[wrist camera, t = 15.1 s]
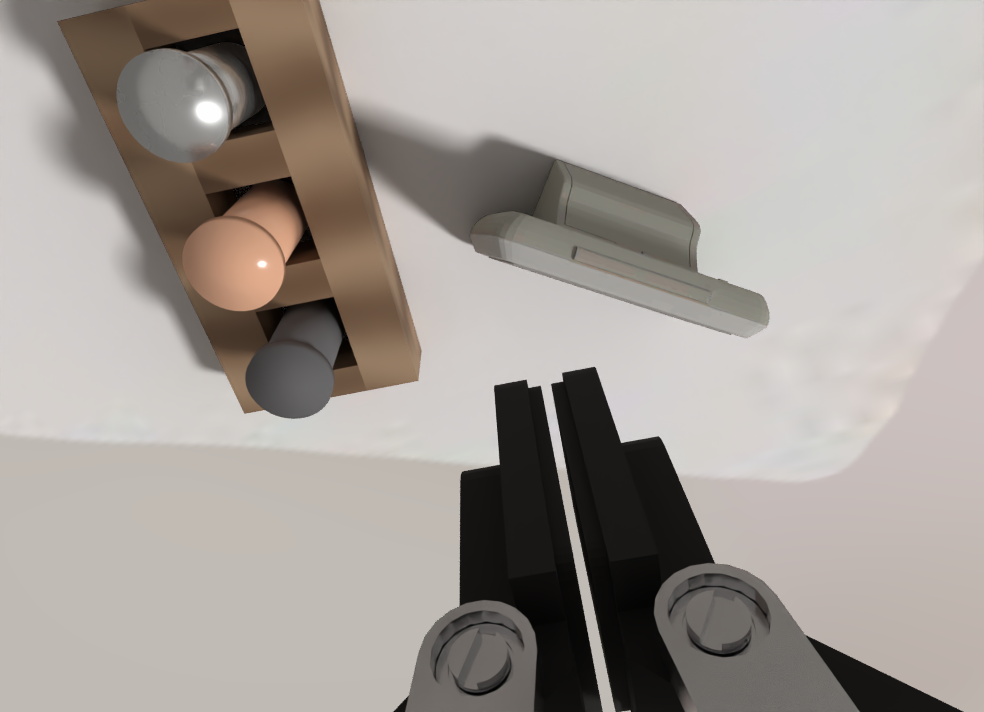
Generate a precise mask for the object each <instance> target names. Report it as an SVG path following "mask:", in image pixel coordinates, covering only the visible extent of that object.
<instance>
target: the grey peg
mask: <svg viewBox="0 0 984 712" xmlns="http://www.w3.org/2000/svg"><path fill="white" fill-rule="evenodd" d="M116 98H117V105H118V109H119V113H120V115H121V118H122V120H123V122H124V124H125V126H126V127H127V129H128V130H129V132H130V133H131V135H132V136H133V137H134V138H135V139H136V140H137V141H138V142H139V143H140V144H141V145H142V146H143V147H144V148H146V149H147V150H148V151H150V152H151V153H153V154H155V155H157V156H159V157H161V158H163V159H166V160H169V161H173V162H180V163H190V162H196V161H199V160H202V159H204V158H207V157H208V156H210V155H211V154H213V153H214V152H216V151H217V150H218V149H219V148H220V147H221V146H222V145H223V144H224V143H225V142H226V140H227V138H228V137H229V134H230V132H231V130H232V129H233V128H235V127H236V126H238V125H239V124H241V123H242V122H244V121H245V120H247V119H248V118H250V117H251V116H253V115H254V114H256V113H257V112H259V111H260V110H261V109H262V108H263V107H264V105H265V101H264V98H263V95H262V93H261V90H260V87H259V84H258V81H257V78H256V76H255V73H254V70H253V67H252V64H251V61H250V59H249V56H248V53H247V50H246V48H245V47H244V46H241V45H239V44H236V43H230V42H223V43H218V44H214V45H210V46H207V47H203V48H199V49H196V50H192V51H188V52H185V51H181V50H178V49H171V48H163V49H156V50H152V51H148V52H145V53H142V54H140V55H138V56H136V57H134V58H133V59H132V60H130V61H129V62H128V63H127V64H126V66H125V67H124V69H123V70H122V72H121V74H120V76H119V79H118V83H117V90H116Z"/></svg>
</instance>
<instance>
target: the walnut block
mask: <svg viewBox="0 0 984 712" xmlns="http://www.w3.org/2000/svg"><path fill="white" fill-rule="evenodd" d="M57 22H58V24H59V26H60V28H61V30H62V32H63V34H64V37H65V39H66V41H67V43H68V45H69V47H70V49H71V51H72V53H73V55H74V57H75V60H76V62H77V64H78V66H79V68H80V70H81V72H82V74H83V76H84V78H85V81H86V83H87V85H88V87H89V89H90V91H91V93H92V95H93V97H94V99H95V101H96V104H97V106H98V108H99V110H100V112H101V114H102V116H103V118H104V120H105V122H106V125H107V127H108V129H109V131H110V133H111V135H112V137H113V139H114V141H115V143H116V145H117V148H118V150H119V152H120V154H121V156H122V158H123V160H124V162H125V164H126V166H127V168H128V171H129V173H130V175H131V177H132V179H133V181H134V183H135V185H136V187H137V189H138V192H139V194H140V196H141V198H142V200H143V202H144V204H145V206H146V208H147V210H148V212H149V215H150V217H151V219H152V221H153V223H154V225H155V227H156V229H157V231H158V233H159V236H160V238H161V240H162V242H163V244H164V246H165V248H166V250H167V252H168V254H169V256H170V259H171V261H172V263H173V265H174V267H175V269H176V271H177V273H178V275H179V277H180V280H181V282H182V284H183V286H184V288H185V290H186V292H187V294H188V296H189V298H190V300H191V303H192V305H193V307H194V309H195V311H196V313H197V315H198V317H199V319H200V321H201V324H202V326H203V328H204V330H205V332H206V334H207V336H208V338H209V340H210V342H211V344H212V347H213V349H214V351H215V353H216V355H217V357H218V359H219V361H220V363H221V365H222V368H223V370H224V372H225V374H226V376H227V378H228V380H229V382H230V384H231V386H232V388H233V391H234V393H235V395H236V397H237V399H238V401H239V403H240V405H241V407H242V409H243V411H244V414H246V413H251V412H256V411H261V410H264V409H263V408H261V407H260V406H259V405H258V404H257V403H256V402H255V401H254V400H253V398H252V397H251V396H250V394H249V392H248V389H247V387H246V382H245V374H246V370H247V367H248V365H249V363H250V361H251V359H252V357H253V356H254V354H255V353H256V352H257V351H258V350H259V349H260V348H261V347H262V346H264V345H266V344H268V343H269V341H270V339H271V338H272V336H273V334H274V332H275V330H276V328H277V326H278V324H279V323H280V321H281V319H282V317H283V312H282V310H281V307H285V306H290V305H295V304H300V303H305V302H310V301H315V300H320V299H325V298H330V297H334V299H335V302H336V305H337V308H338V310H339V313H340V316H341V319H342V322H343V325H344V327H345V330H346V333H347V336H348V340H343V341H341V344H340V347H339V350H338V353H337V356H336V359H335V362H334V365H333V372H334V377H335V381H334V387H333V391H332V394H331V397H335V396H341V395H346V394H351V393H356V392H362V391H367V390H372V389H378V388H383V387H388V386H393V385H399V384H404V383H409V382H414V381H418V377H419V368H420V360H421V348H420V344H419V341H418V337H417V334H416V330H415V327H414V324H413V320H412V317H411V313H410V310H409V306H408V303H407V300H406V296H405V293H404V289H403V286H402V282H401V279H400V276H399V272H398V269H397V265H396V262H395V259H394V255H393V252H392V248H391V245H390V241H389V238H388V235H387V231H386V228H385V224H384V221H383V217H382V214H381V211H380V207H379V204H378V200H377V197H376V193H375V190H374V187H373V183H372V180H371V176H370V173H369V169H368V166H367V163H366V159H365V156H364V152H363V149H362V146H361V142H360V139H359V135H358V132H357V128H356V125H355V122H354V118H353V115H352V111H351V108H350V104H349V101H348V98H347V94H346V91H345V87H344V84H343V80H342V77H341V74H340V70H339V67H338V63H337V60H336V57H335V53H334V50H333V46H332V43H331V39H330V36H329V33H328V29H327V26H326V22H325V19H324V15H323V12H322V9H321V5H320V2H319V0H146V1H141V2H137V3H133V4H129V5H124V6H120V7H116V8H112V9H107V10H103V11H99V12H95V13H90V14H86V15H82V16H78V17H73V18H69V19H65V20H61V21H57ZM236 28H239V30H240V33H241V36H242V39H243V42H244V44H245V47H246V50H247V53H248V56H249V59H250V61H251V64H252V67H253V70H254V73H255V76H256V78H257V81H258V84H259V87H260V90H261V93H262V95H263V98H264V101H265V104H266V107H267V110H268V112H269V115H270V118H271V121H269V122H264V123H259V124H255V125H250V126H246V127H241V128H237V129H232V130H231V132H230V134H229V137H228V138H227V140H226V142H225V143H224V144H223V145H222V146H221V147H220V148H219V149H218V150H217V151H216V152H214V153H213V154H211V155H210V156H208V157H207V158H204V159H202V160H199V161H196V162H190V163H180V162H173V161H169V160H166V159H163V158H161V157H159V156H157V155H155V154H153V153H151V152H150V151H148V150H147V149H146V148H144V147H143V146H142V145H141V144H140V143H139V142H138V141H137V140H136V139H135V138H134V137H133V136H132V135H131V133H130V132H129V130H128V129H127V127H126V126H125V124H124V122H123V120H122V118H121V115H120V113H119V109H118V105H117V98H116V90H117V83H118V79H119V76H120V74H121V72H122V70H123V69H124V67H125V66H126V64H127V63H128V62H129V61H130V60H132V59H133V58H134V57H136V56H138V55H140V54H142V53H145V52H148V51H152V50H156V49H163V48H171V49H176V47H175V44H174V43H175V42H180V41H184V40H188V39H193V38H197V37H201V36H206V35H210V34H214V33H219V32H223V31H227V30H232V29H236ZM289 176H291V177H292V180H293V183H294V186H295V189H296V192H297V194H298V197H299V200H300V203H301V206H302V209H303V211H304V214H305V217H306V220H307V223H308V226H309V228H310V231H311V234H312V237H313V240H310V241H305V242H300V243H298V244H297V246H296V247H295V249H294V250H293V252H292V254H291V255H290V257H289V258H288V260H287V262H286V272H285V277H284V281H283V283H282V285H281V287H280V289H279V290H278V292H277V293H276V295H275V296H274V297H273V299H272V300H271V301H269V302H268V303H267V304H265V305H264V306H262V307H260V308H257V309H254V310H249V311H232V310H228V309H224V308H221V307H219V306H216V305H214V304H212V303H211V302H209V301H207V300H206V299H205V298H203V297H202V296H201V295H200V294H199V293H198V292H197V291H196V290H195V289H194V288H193V286H192V285H191V284H190V282H189V280H188V278H187V276H186V274H185V271H184V268H183V261H182V254H183V249H184V246H185V243H186V241H187V239H188V238H189V236H190V235H191V234H192V233H193V232H194V231H195V230H196V229H197V228H198V227H199V226H200V225H201V224H203V223H204V222H206V221H207V220H210V219H212V218H215V217H219V216H223V215H224V214H225V213H226V212H227V211H228V210H229V209H230V208H231V207H232V206H233V205H234V204H235V203H236V202H237V198H236V196H235V193H234V191H233V188H238V187H242V186H247V185H252V184H256V183H261V182H266V181H270V180H275V179H280V178H285V177H289Z"/></svg>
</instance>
